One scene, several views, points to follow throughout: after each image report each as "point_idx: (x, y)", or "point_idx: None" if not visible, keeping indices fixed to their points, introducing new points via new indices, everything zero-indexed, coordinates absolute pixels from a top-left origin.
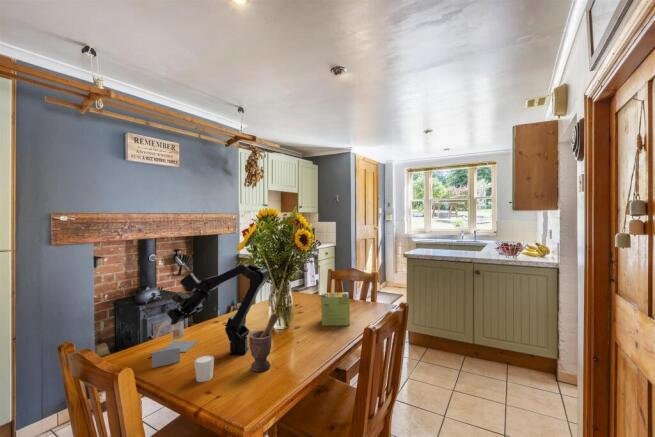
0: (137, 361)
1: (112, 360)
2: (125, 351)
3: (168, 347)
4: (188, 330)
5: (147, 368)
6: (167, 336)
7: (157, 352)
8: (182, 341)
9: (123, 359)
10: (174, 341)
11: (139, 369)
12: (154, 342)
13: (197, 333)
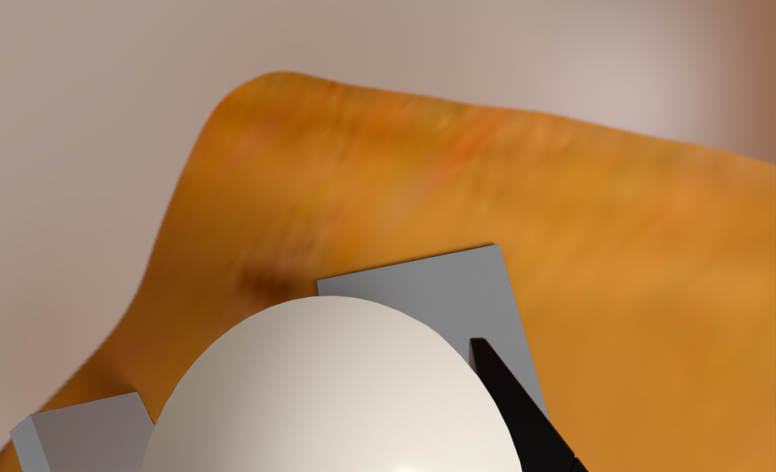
0: (204, 245)
1: (214, 112)
2: (315, 81)
3: (388, 293)
4: (751, 194)
5: (121, 376)
6: (574, 130)
7: (28, 467)
8: (510, 323)
9: (225, 152)
10: (494, 258)
11: (113, 337)
12: (458, 128)
13: (727, 323)
